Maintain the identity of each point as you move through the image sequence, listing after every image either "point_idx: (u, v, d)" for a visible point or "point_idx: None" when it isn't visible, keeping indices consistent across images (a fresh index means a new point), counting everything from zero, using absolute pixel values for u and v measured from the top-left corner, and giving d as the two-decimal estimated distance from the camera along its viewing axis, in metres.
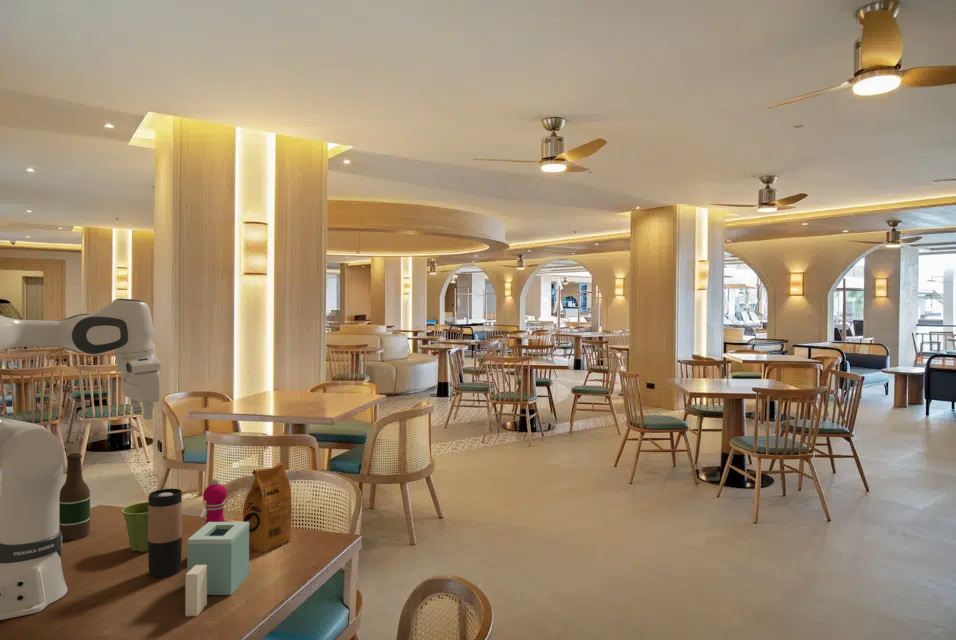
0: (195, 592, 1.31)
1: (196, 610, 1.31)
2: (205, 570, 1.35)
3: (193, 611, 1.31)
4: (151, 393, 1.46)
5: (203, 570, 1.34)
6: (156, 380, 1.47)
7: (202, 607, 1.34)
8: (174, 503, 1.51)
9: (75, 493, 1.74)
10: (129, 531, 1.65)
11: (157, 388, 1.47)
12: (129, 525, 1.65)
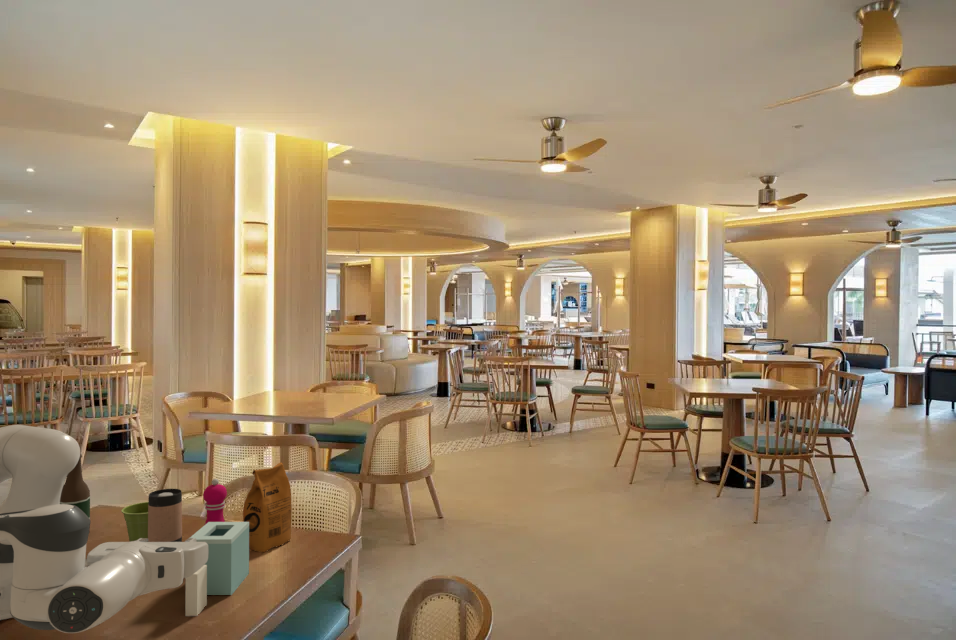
0: (195, 592, 1.31)
1: (196, 610, 1.31)
2: (205, 570, 1.35)
3: (193, 611, 1.31)
4: (204, 554, 1.14)
5: (203, 570, 1.34)
6: (195, 552, 1.11)
7: (202, 607, 1.34)
8: (174, 503, 1.51)
9: (75, 493, 1.74)
10: (129, 531, 1.65)
11: (202, 548, 1.13)
12: (129, 525, 1.65)
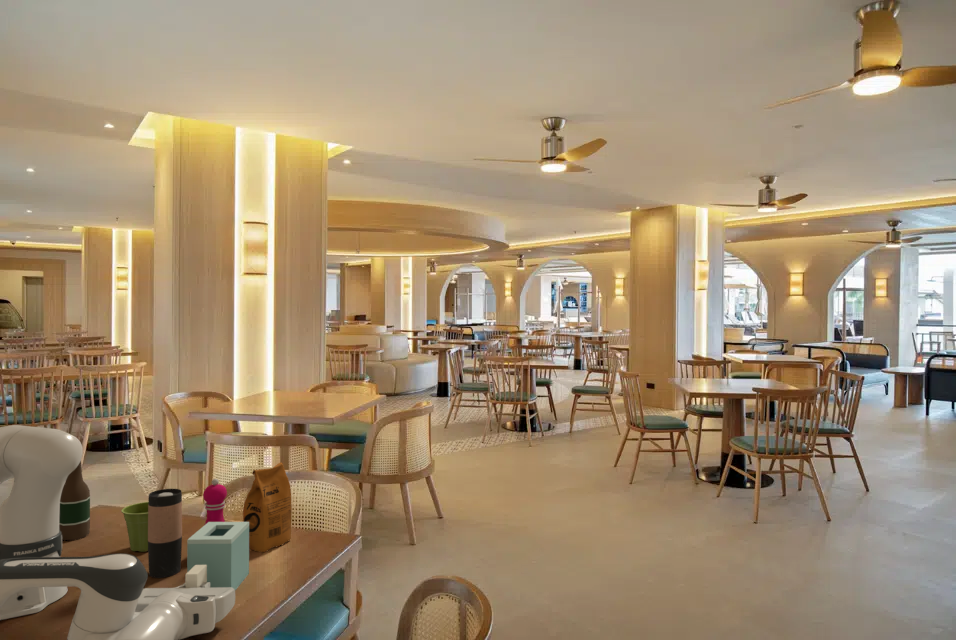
0: None
1: None
2: (205, 570, 1.35)
3: None
4: (232, 599, 1.28)
5: (203, 570, 1.34)
6: (225, 599, 1.25)
7: None
8: (174, 503, 1.51)
9: (75, 493, 1.74)
10: (129, 531, 1.65)
11: (230, 595, 1.27)
12: (129, 525, 1.65)
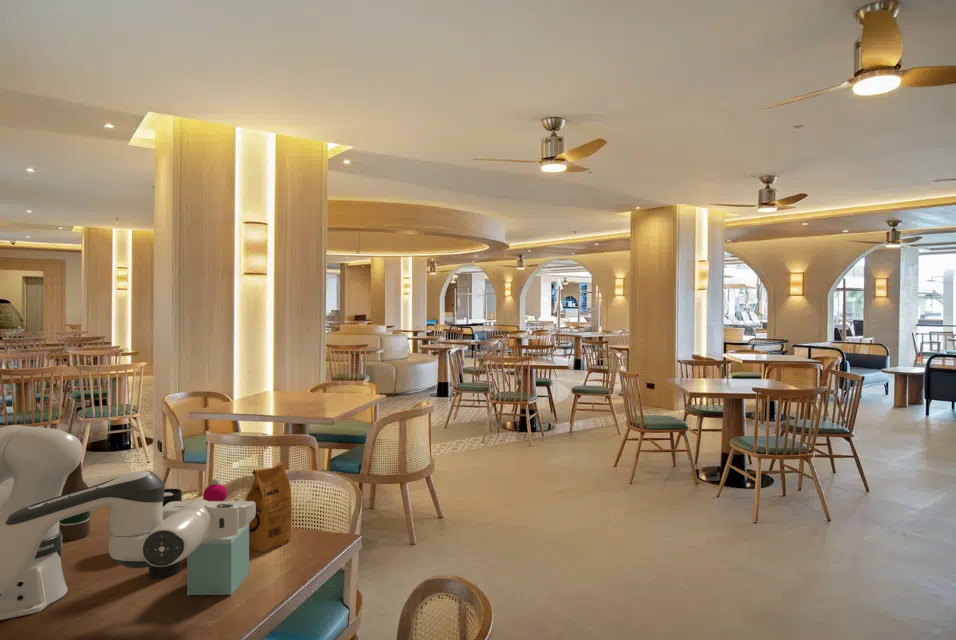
0: None
1: None
2: None
3: None
4: (253, 511, 1.40)
5: None
6: (247, 508, 1.38)
7: None
8: None
9: None
10: None
11: (251, 506, 1.39)
12: None
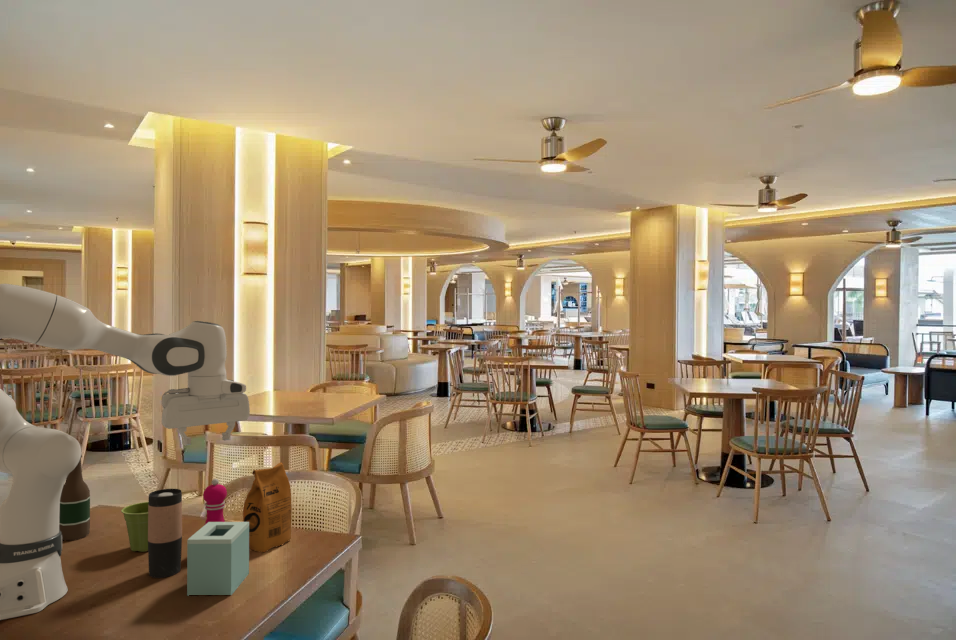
0: None
1: None
2: None
3: None
4: None
5: None
6: None
7: None
8: (174, 503, 1.51)
9: (75, 493, 1.74)
10: (129, 531, 1.65)
11: None
12: (129, 525, 1.65)
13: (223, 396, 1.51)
